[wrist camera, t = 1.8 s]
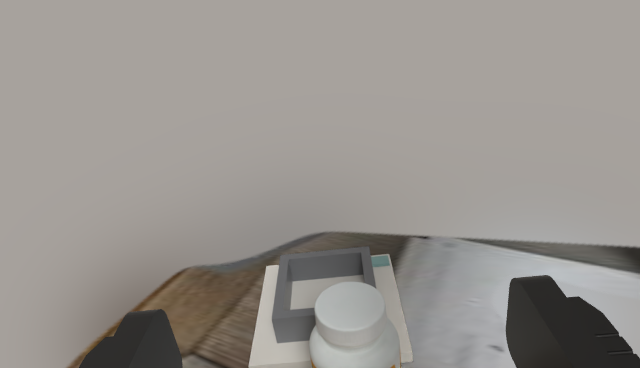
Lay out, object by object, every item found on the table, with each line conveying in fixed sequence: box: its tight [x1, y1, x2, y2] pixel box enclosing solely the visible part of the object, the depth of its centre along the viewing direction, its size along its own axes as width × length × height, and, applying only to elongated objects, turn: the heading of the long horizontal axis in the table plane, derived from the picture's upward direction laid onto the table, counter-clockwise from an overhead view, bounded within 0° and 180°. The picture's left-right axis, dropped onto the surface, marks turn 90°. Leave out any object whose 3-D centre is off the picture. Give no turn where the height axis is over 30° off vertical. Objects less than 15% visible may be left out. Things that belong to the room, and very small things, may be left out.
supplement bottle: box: [309, 281, 401, 368], centre depth 27 cm, size 5×5×10 cm
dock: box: [249, 246, 413, 368], centre depth 37 cm, size 12×12×4 cm
